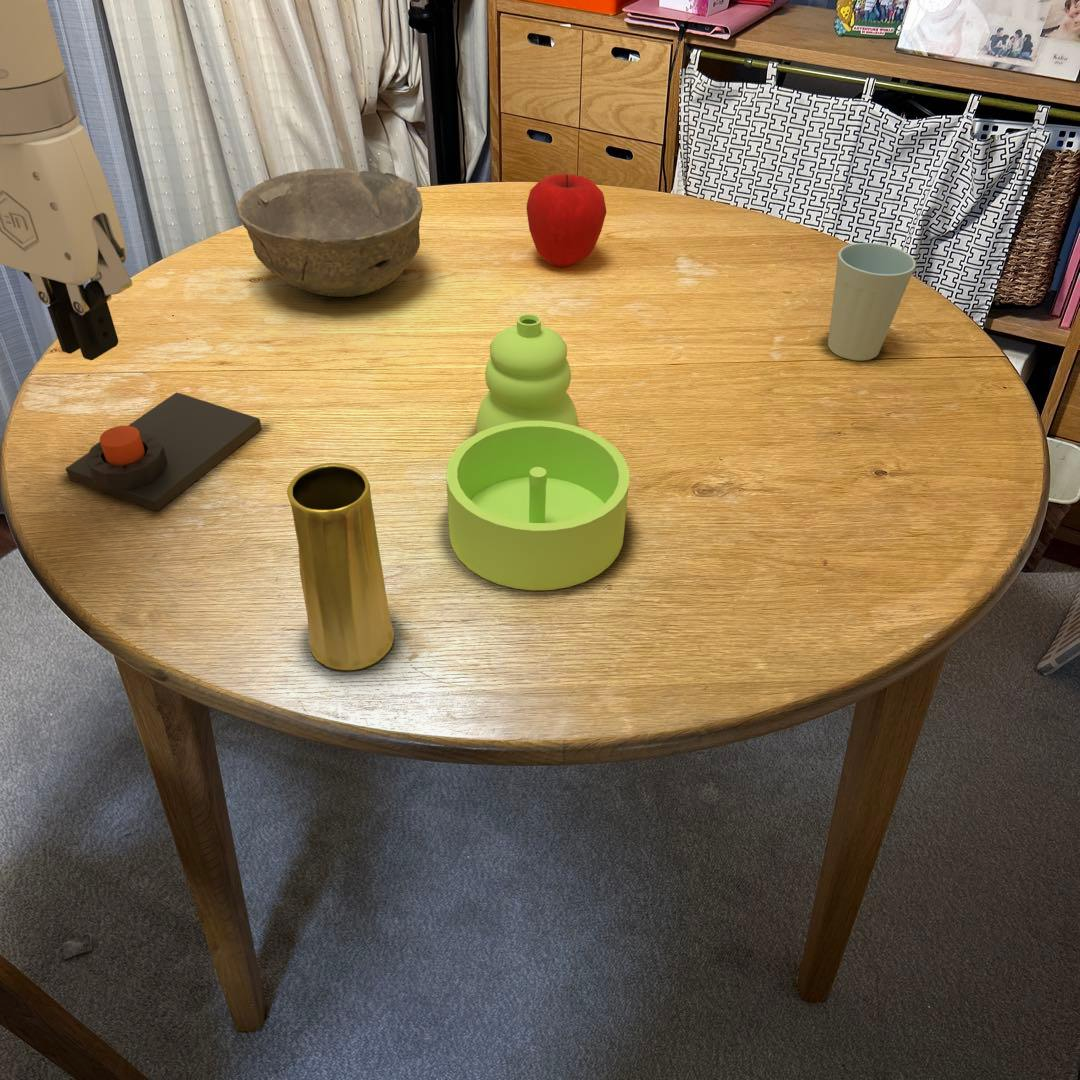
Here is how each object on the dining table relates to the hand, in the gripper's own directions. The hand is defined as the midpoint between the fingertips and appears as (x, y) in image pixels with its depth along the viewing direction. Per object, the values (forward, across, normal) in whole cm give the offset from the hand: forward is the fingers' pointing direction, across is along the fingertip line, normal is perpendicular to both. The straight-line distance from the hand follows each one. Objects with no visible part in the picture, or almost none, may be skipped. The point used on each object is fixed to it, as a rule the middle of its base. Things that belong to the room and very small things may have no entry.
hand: (91, 347), depth 76 cm
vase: (+13, +28, -8) cm, 32 cm away
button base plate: (+13, 0, +4) cm, 14 cm away
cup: (+13, +52, +54) cm, 76 cm away
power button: (+11, 0, 0) cm, 11 cm away
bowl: (+13, -6, +40) cm, 43 cm away
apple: (+13, +15, +58) cm, 62 cm away
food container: (+13, +32, +14) cm, 38 cm away
